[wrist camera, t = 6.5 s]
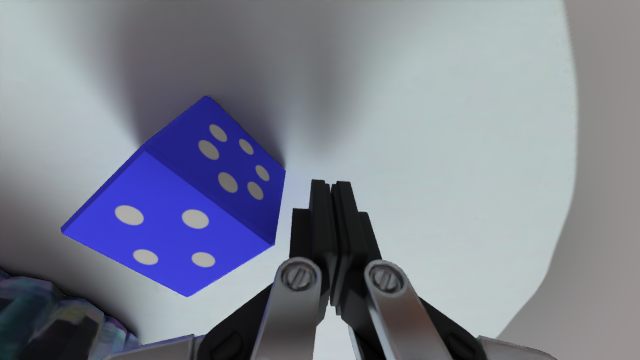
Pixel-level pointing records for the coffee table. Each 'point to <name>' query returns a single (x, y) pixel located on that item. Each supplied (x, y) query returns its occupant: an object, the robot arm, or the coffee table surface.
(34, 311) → the decorative bowl
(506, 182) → the coffee table surface
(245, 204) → the die
